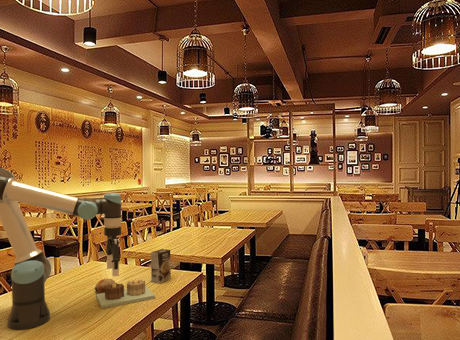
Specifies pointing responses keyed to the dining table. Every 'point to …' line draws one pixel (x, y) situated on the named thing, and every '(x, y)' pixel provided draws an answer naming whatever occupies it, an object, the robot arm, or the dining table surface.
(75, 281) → the dining table surface
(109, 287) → the walnut gear
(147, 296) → the gear board
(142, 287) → the beech gear
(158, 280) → the coffee box
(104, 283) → the bread roll
